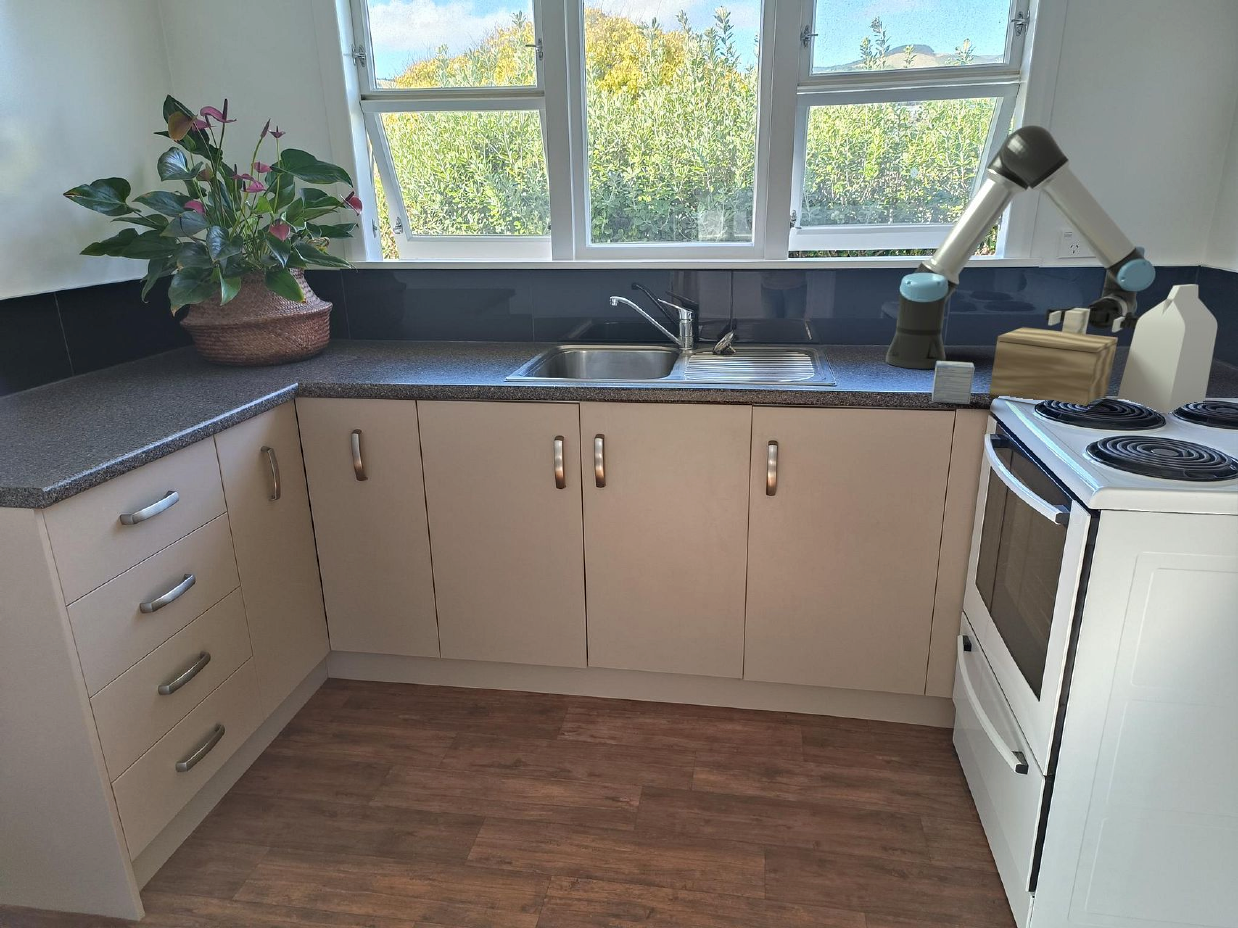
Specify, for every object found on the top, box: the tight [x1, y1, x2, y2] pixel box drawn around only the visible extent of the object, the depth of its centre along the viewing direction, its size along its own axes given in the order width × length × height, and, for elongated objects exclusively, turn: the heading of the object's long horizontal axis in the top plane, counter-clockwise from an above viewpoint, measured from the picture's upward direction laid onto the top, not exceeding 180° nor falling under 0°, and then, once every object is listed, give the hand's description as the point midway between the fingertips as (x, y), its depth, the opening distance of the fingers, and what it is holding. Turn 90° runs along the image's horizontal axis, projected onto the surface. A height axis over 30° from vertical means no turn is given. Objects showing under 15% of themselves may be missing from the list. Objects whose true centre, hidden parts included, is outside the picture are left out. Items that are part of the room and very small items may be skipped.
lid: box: [996, 307, 1119, 353], centre depth 182 cm, size 24×20×8 cm
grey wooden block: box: [931, 360, 975, 405], centre depth 180 cm, size 8×4×9 cm, turn 71°
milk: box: [1116, 283, 1218, 415], centre depth 173 cm, size 12×12×26 cm
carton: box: [988, 340, 1118, 406], centre depth 181 cm, size 16×20×13 cm
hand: (1081, 322), depth 188 cm, fingers open, 13 cm apart
